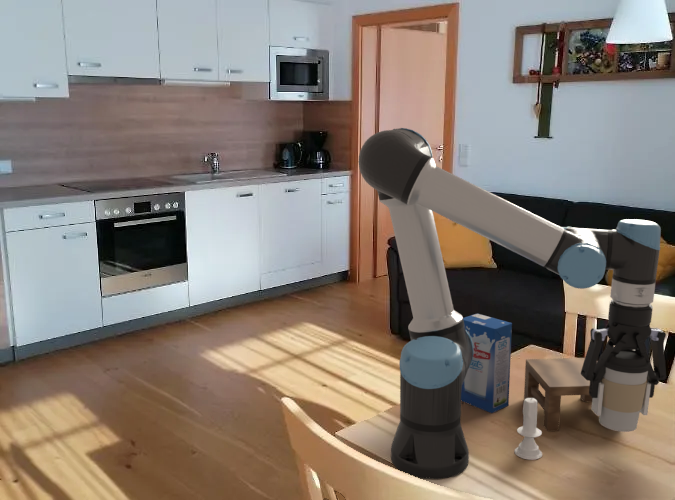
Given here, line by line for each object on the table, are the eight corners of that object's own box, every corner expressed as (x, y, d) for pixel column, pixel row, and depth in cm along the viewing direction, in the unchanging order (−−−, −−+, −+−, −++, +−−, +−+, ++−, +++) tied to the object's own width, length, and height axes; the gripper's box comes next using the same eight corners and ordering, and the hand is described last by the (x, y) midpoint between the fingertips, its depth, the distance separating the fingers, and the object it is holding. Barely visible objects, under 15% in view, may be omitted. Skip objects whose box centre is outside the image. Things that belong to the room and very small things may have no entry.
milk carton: (457, 399, 159) (459, 318, 155) (474, 392, 163) (477, 313, 159) (492, 413, 151) (495, 328, 147) (508, 405, 155) (512, 323, 151)
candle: (547, 453, 133) (550, 397, 131) (532, 463, 130) (535, 405, 127) (524, 444, 137) (526, 389, 135) (509, 453, 134) (511, 397, 131)
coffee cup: (647, 437, 127) (656, 362, 124) (597, 431, 129) (605, 358, 126) (636, 415, 136) (645, 345, 132) (589, 411, 137) (596, 342, 134)
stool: (547, 431, 143) (549, 387, 141) (523, 399, 158) (525, 359, 156) (621, 428, 143) (624, 384, 141) (590, 397, 159) (593, 357, 157)
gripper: (583, 307, 123) (573, 421, 128) (697, 307, 124) (682, 420, 128) (568, 296, 130) (558, 404, 135) (675, 296, 131) (662, 403, 136)
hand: (619, 412), depth 132 cm, fingers closed on coffee cup, 9 cm apart
